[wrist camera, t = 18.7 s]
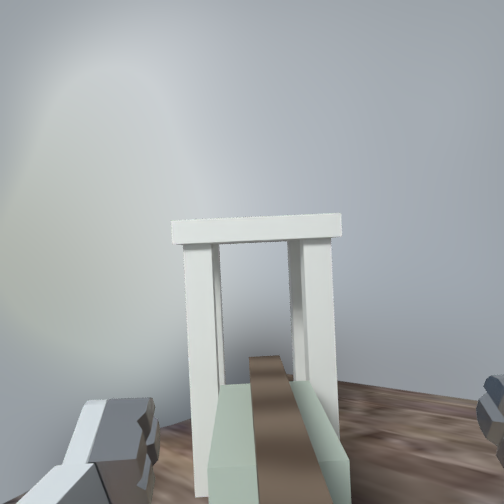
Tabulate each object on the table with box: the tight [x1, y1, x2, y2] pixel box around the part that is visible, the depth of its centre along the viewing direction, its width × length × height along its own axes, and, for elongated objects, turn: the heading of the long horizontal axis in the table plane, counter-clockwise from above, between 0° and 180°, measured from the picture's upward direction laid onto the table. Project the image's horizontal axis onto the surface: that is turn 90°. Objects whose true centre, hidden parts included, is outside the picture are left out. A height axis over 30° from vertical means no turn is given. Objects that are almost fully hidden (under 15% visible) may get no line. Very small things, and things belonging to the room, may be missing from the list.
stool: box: [171, 213, 342, 497], centre depth 53 cm, size 18×18×30 cm
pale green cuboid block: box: [207, 380, 351, 504], centre depth 34 cm, size 16×9×13 cm, turn 1°
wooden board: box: [249, 356, 333, 504], centre depth 29 cm, size 24×3×3 cm, turn 2°
